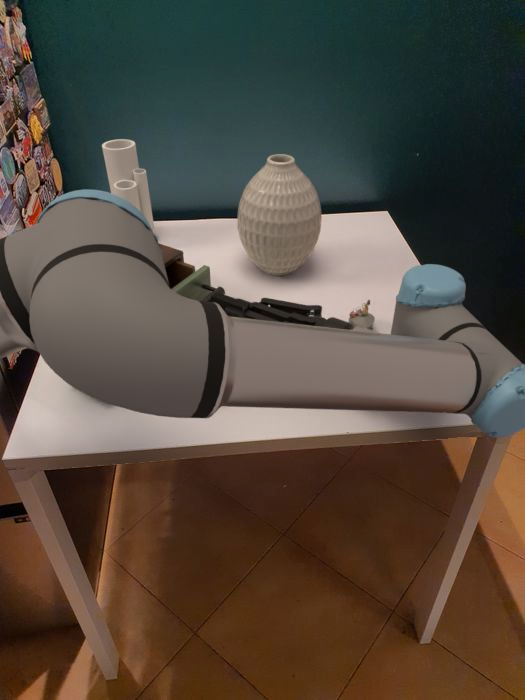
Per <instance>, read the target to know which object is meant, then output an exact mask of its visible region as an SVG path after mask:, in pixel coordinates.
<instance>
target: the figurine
mask: <svg viewBox="0 0 525 700" xmlns="http://www.w3.org/2000/svg"><path fill="white" fill-rule="evenodd" d="M369 306H371V300H370V299H368V300H366V302H363V303H362V304H361V307H359V306H357V307H356V308H354V309H352V310H351V311H350V312H349V314H348V316H349V317H348V322H349V323H352V324H353V326H354V327H356V326H362V327H364V328H367V329H370V330H371V329H372V327H373V326H374V323H375V320H376V318H375V316H374V314H372V313H370V312H369Z"/></svg>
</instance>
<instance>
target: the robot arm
mask: <svg viewBox="0 0 525 700" xmlns="http://www.w3.org/2000/svg"><path fill="white" fill-rule="evenodd" d="M159 244H160V243H159V239H158V237H157V236H156V233H155V234H154V232H153V230H152V228H151V226H150V224H149V223H148V221H147V220H146V218H145V217H144V216H143V214H142V213H141V212H140V211H139V210H138V209H137V208H136V207H135V206H133V205H132V204H131V203H129V202H128V201H126V200H125V199H123V198H121V197H119V196H116V195H113V194H111V192H109V191H104V190H100V189H78V190H72V191H68V192H66V193H63V194H61V195H59V196H58V197H56V198H54V199H53V200H52V201H51V202H50V203H48V204H47V206H46V207H45V208H43V210H42V211H41V212H40V213H39V215H38V217H37V219H36V223H35V224H33V225H30V226H27V227H25V228H23V229H21V230H18V231H16V232H13V233H11V234H8V235H6V236H4V237H1V238H0V360H2V359H4V358H6V357H9V356H12V355H13V354H16V353H19V352H21V351H23V350H25V349H30V350H33V351H36V352H38V354H40V356H41V358H42V359H43V361H44V363H45V364H46V365H47V366H48V367H49V369H51V370H52V372H54V373H55V374H56V376H58V377H59V378H60V379H61V380H63V381H64V382H65V383H66V384H68V385H69V386H71V387H72V388H74V389H76V390H77V391H79V392H80V393H83V394H84V395H87V396H89V397H91V398H94V399H96V400H99V401H102V402H104V403H106V404H108V403H109V404H108V405H111V406H115V407H118V408H121V409H126V410H129V411H133V412H136V413H141V414H147V415H152V416H157V417H163V418H164V417H166V418H175V419H177V418H178V419H210V418H211V417H213V416H214V415H215V414H216V413H217V412H218V411H219V410H220V408H222V407H226V408H227V407H230V408H231V407H232V408H233V407H234V408H262V409H263V408H266V409H267V408H268V409H269V408H270V409H294V410H295V409H297V410H298V409H300V410H332V411H333V410H334V411H363V412H364V411H367V412H369V411H370V412H398V413H399V412H402V413H403V412H405V413H436V414H439V413H440V414H453V415H454V414H455V415H466V416H467V417H469V418H470V419H471V420H470V422H471V423H472V425H475V426H476V427H478V428H479V430H480V431H481V432H482V433H483V434H485V435H487V436H488V437H491V438H496V439H498V438H506V437H510V436H512V435H515V434H517V433H519V432H521V431H523V430H524V429H525V363H522V361H520V359H518V358H517V357H516V356H515V355H514V354H513V353H512V352H511V351H510V350H509V349H508V348H507V347H506V346H505V345H503V344H502V343H501V342H500V341H499V340H498V339H497V338H496V337H495V336H494V335H493V334H491V332H490V331H488V330H487V329H486V327H485V326H484V325H483V324H482V323H481V322H480V320H478V319H477V318H476V317H475V316H474V315H473V314H472V313H470V311H469V310H468V309H467V308H466V307H465V306H464V305H463V302H464V300H465V298H466V290H467V287H466V286H467V284H466V282H465V278H464V277H463V275H462V274H461V273H459V271H457V270H455V269H453V268H451V267H449V266H446V265H442V264H435V263H426V264H421V265H420V264H419V265H415V266H413V267H410V268H409V269H408V270H407V271H405V273H404V275H403V277H402V279H401V283H400V287H399V290H398V294H397V295H396V296H395V306H394V312H393V317H392V324H391V330H390V334H388V333H381V332H378V331H375V330H373V329H371V328H370V329H367V328H364V327H362V326H356V327H354V326H353V324H352V323H349V321H346V320H344V319H343V320H342V319H340V318H337V317H334V316H331V317H328V318H327V319H326V318H325V317H323V316H322V313H323V307H322V305H319V304H302V303H296V302H290V301H286V300H280V299H275V298H270V297H262V298H261V299H260V301H253V302H251V301H248V300H245V299H242V298H239V297H238V298H236V297H232V296H229V295H227V294H221V293H218V292H215V293H214V294H213V295H212V296H211V302H206V301H197V300H193V299H188V298H186V297H184V296H181V295H179V294H177V293H176V292H174V291H172V290H171V289H170V286H169V282H168V278H167V274H166V270H165V266H164V262H163V258H162V251H161V249H160V246H159Z"/></svg>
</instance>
